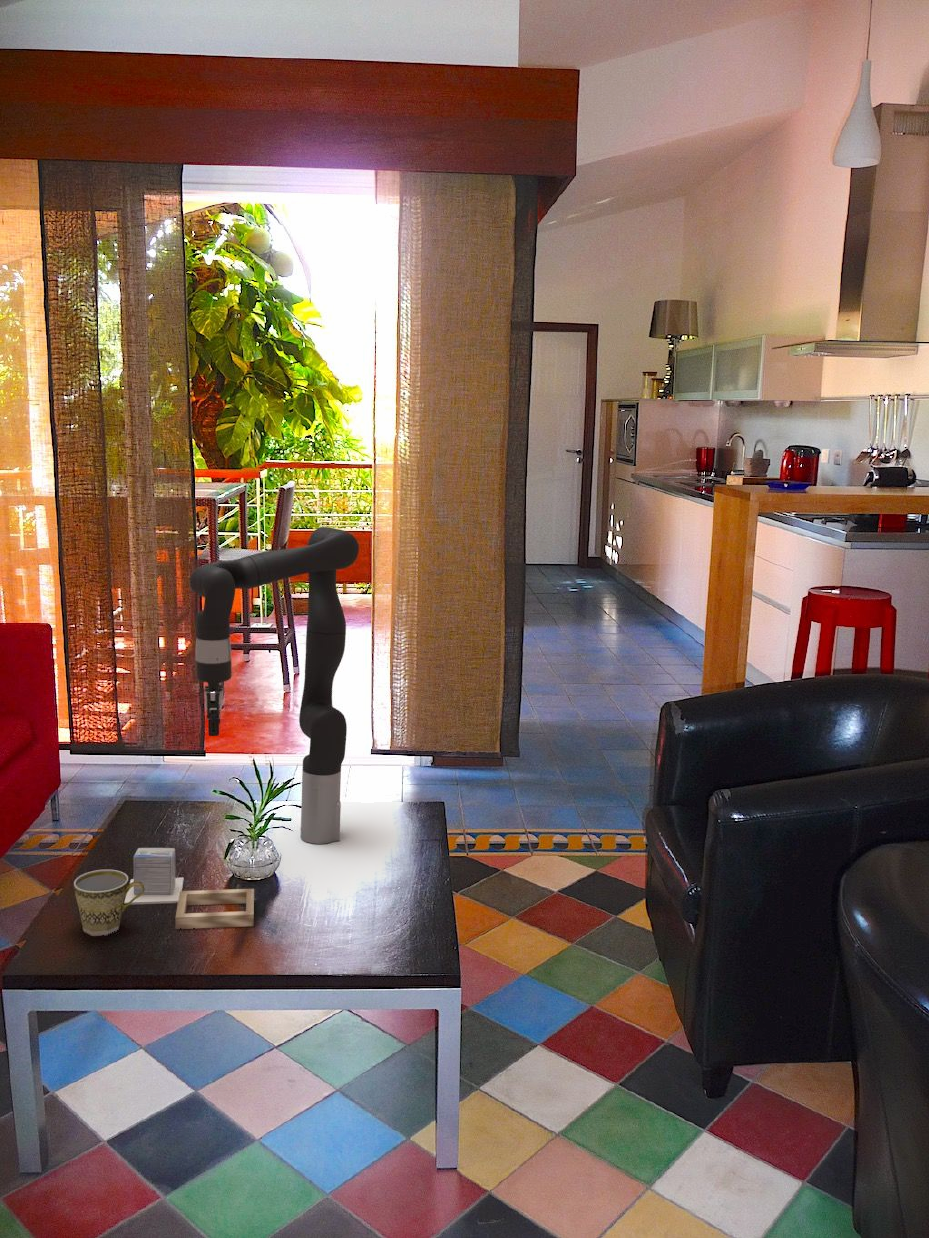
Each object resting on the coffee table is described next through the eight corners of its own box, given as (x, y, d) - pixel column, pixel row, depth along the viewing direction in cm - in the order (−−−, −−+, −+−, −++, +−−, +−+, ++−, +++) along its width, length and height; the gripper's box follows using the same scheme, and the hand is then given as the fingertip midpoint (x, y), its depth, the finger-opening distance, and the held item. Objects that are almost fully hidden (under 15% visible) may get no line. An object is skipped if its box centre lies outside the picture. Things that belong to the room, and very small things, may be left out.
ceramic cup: (70, 941, 192) (69, 892, 190) (79, 916, 202) (78, 869, 200) (141, 938, 195) (141, 890, 193) (147, 914, 204) (147, 867, 202)
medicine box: (175, 885, 216) (175, 847, 215) (172, 895, 212) (172, 856, 210) (137, 885, 215) (137, 847, 214) (133, 894, 211) (133, 855, 209)
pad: (183, 879, 220) (183, 877, 220) (179, 902, 210) (179, 900, 210) (130, 881, 218) (130, 879, 218) (124, 904, 208) (124, 902, 208)
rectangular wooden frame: (253, 899, 213) (254, 888, 213) (253, 926, 202) (253, 914, 202) (179, 902, 210) (180, 891, 210) (175, 929, 199) (175, 917, 199)
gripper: (230, 665, 213) (231, 739, 216) (231, 649, 227) (232, 719, 230) (193, 666, 211) (195, 740, 215) (197, 650, 225) (198, 720, 228)
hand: (214, 729), depth 222 cm, fingers open, 8 cm apart
